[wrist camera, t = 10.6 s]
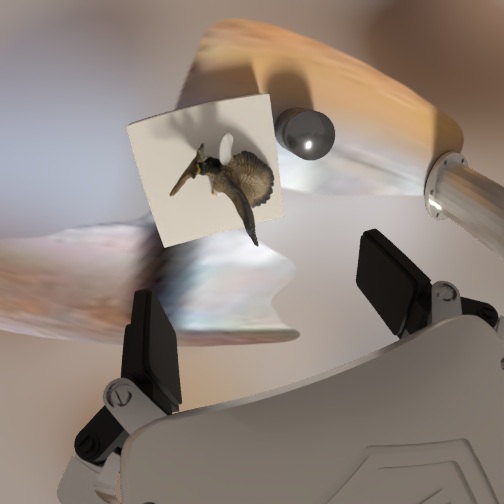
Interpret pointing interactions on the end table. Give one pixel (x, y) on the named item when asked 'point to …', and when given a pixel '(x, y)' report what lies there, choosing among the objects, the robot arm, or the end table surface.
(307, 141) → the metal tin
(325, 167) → the end table surface
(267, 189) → the eagle figurine
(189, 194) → the white slab
